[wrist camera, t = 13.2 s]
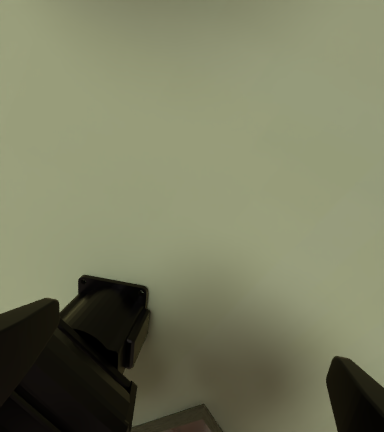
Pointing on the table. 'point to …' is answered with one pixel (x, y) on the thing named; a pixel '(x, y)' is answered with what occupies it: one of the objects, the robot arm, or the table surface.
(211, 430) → the plate
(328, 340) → the table surface
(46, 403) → the robot arm
